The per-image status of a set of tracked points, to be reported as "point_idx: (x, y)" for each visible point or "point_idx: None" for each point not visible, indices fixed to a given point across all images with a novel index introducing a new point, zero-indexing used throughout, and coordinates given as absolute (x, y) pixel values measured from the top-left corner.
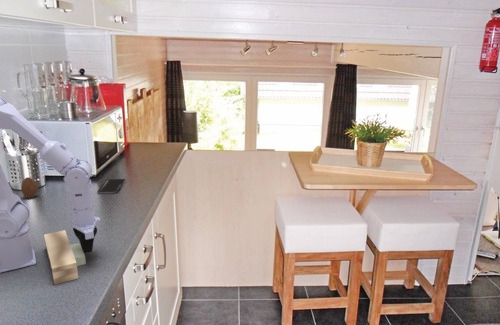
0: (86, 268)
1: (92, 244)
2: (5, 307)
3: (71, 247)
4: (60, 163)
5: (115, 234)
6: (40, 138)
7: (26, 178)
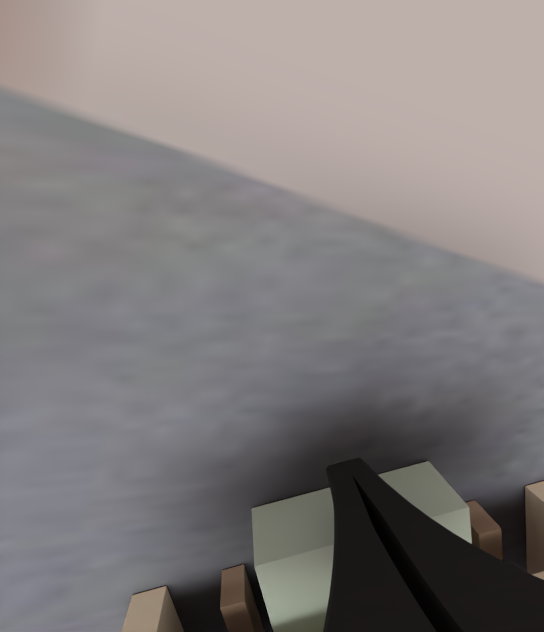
0: (476, 451)
1: (401, 495)
2: None
3: (313, 603)
4: None
5: (28, 287)
6: None
7: None
